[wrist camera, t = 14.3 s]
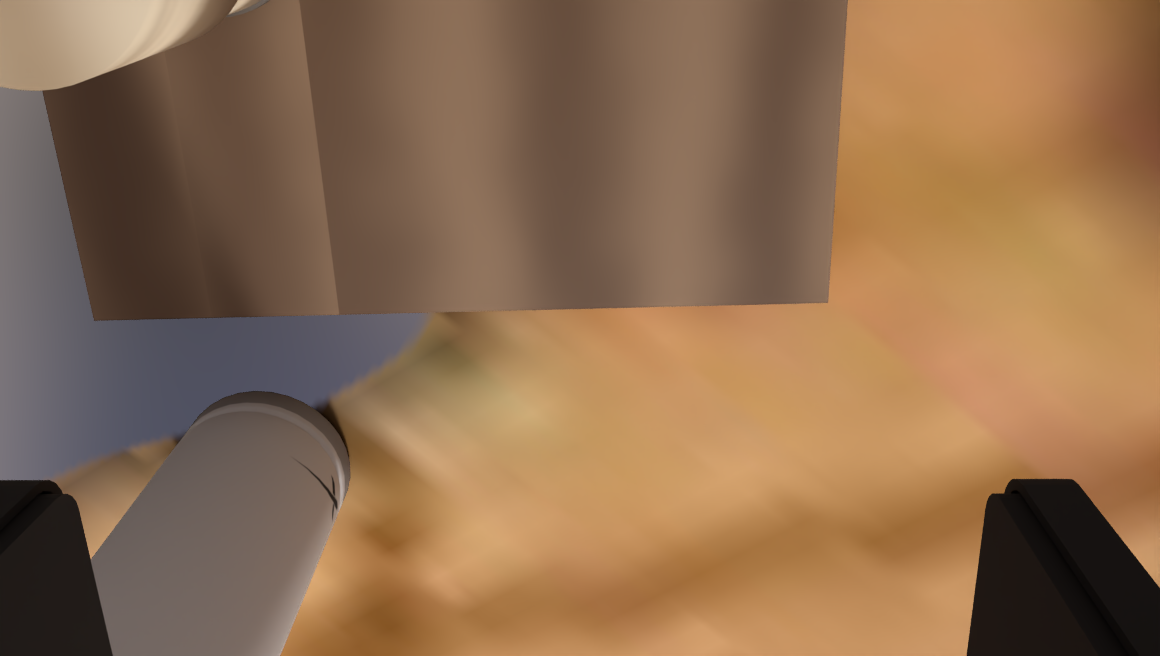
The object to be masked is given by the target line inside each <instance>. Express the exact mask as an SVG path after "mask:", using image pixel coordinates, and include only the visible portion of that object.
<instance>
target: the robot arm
mask: <svg viewBox="0 0 1160 656" xmlns="http://www.w3.org/2000/svg"><path fill="white" fill-rule="evenodd" d="M0 656H113V654H112V649H111V645H110V641H109V637H108V632H107V628H106V624H105V619H104V615H103V611H102V607H101V602H100V598H99V594H98V589H97V585H96V581H95V577H94V572H93V568H92V564H91V559H90V555H89V551H88V547H87V542H86V538H85V534H84V529H83V525H82V521H81V517H80V512H79V508H78V505H77V503H76V501H75V499H74V498H73V497H72V496H70V495H68V494H63V493H62V490H61V489H60V488H59V487H58V485H57V484H56V483H54V482H52V481H50V480H0ZM967 656H1160V588H1159V587H1158V585H1157V584H1156V583H1155V581H1154V580H1153V579H1152V578H1151V576H1150V575H1149V574H1148V572H1147V571H1146V570H1145V569H1144V567H1143V566H1142V565H1141V564H1140V562H1139V561H1138V560H1137V558H1136V557H1135V556H1134V555H1133V553H1132V552H1131V551H1130V550H1129V548H1128V547H1127V546H1126V544H1125V543H1124V542H1123V541H1122V539H1121V538H1120V537H1119V535H1118V534H1117V533H1116V532H1115V530H1114V529H1113V528H1112V527H1111V525H1110V524H1109V523H1108V521H1107V520H1106V519H1105V518H1104V516H1103V515H1102V514H1101V512H1100V511H1099V510H1098V509H1097V507H1096V506H1095V505H1094V504H1093V502H1092V501H1091V500H1090V498H1089V497H1088V496H1087V495H1086V493H1085V492H1084V491H1083V490H1082V488H1081V487H1080V486H1079V484H1077V483H1076V482H1075V481H1074V480H1072V479H1012V480H1011V481H1010V482H1009V483H1008V485H1007V487H1006V489H1005V493H1004V494H991V495H990V496H989V498H988V501H987V504H986V509H985V517H984V525H983V533H982V540H981V548H980V556H979V564H978V572H977V579H976V587H975V595H974V603H973V611H972V618H971V626H970V634H969V642H968V650H967Z"/></svg>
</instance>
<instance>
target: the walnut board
mask: <svg viewBox="0 0 1160 656" xmlns="http://www.w3.org/2000/svg"><path fill="white" fill-rule="evenodd" d="M847 3H848V0H270V1H268V2H267V3H265V4H264V5H262V6H260V7H259V8H257V9H254V10H252V11H249V12H247V13H244V14H240V15H236V16H232V17H225V18H224V19H223V20H222V22H221V23H219V24H218V25H217V26H216V27H214V28H213V29H212V30H211V31H209V32H208V33H206V34H204V35H203V36H201V37H199V38H197V39H195V40H192V41H190V42H187V43H185V44H182V45H179V46H177V47H174V48H171V49H168V50H166V51H163V52H160V53H158V54H155V55H152V56H150V57H147V58H144V59H142V60H139V61H136V62H134V63H131V64H128V65H126V66H123V67H120V68H117V69H115V70H112V71H109V72H107V73H104V74H101V75H99V76H96V77H93V78H91V79H88V80H85V81H83V82H80V83H77V84H75V85H71V86H67V87H63V88H59V89H52V90H42V91H43V95H44V100H45V104H46V109H47V113H48V117H49V122H50V126H51V131H52V135H53V140H54V144H55V149H56V153H57V158H58V162H59V167H60V171H61V176H62V180H63V184H64V189H65V193H66V198H67V202H68V206H69V211H70V215H71V220H72V224H73V229H74V233H75V238H76V242H77V247H78V251H79V255H80V260H81V264H82V268H83V273H84V278H85V282H86V287H87V291H88V295H89V300H90V304H91V308H92V313H93V318H94V321H97V320H139V319H176V318H177V319H180V318H219V317H220V318H221V317H261V316H262V317H263V316H304V315H344V314H345V315H346V314H387V313H428V312H470V311H511V310H552V309H593V308H635V307H676V306H717V305H758V304H800V303H828V296H829V280H830V265H831V250H832V234H833V219H834V203H835V188H836V173H837V157H838V142H839V126H840V111H841V96H842V80H843V65H844V50H845V34H846V19H847Z"/></svg>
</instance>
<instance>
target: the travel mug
mask: <svg viewBox="0 0 1160 656" xmlns="http://www.w3.org/2000/svg"><path fill="white" fill-rule="evenodd" d="M349 481H350V462H349V458H348V454H347V450H346V447H345V445H344V443H343V441H342V439H341V437H340V435H339V434H338V433H337V431H336V430H335V429H334V427H333V426H332V425H331V423H330V422H329V421H328V420H327V419H325V418H324V417H323V416H322V415H321V414H320V413H319V412H318V411H316V410H315V409H313V408H311V407H310V406H308V405H307V404H305V403H304V402H301V401H299V400H296V399H294V398H292V397H289V396H286V395H281V394H278V393H273V392H262V391H251V392H243V393H237V394H234V395H231V396H228V397H225V398H222V399H220V400H219V401H217V402H215V403H213V404H212V405H210V406H209V407H208V408H207V409H206V410H204V411H203V412H202V413H201V414H200V415H199V416H198V417H197V419H196V420H195V421H194V423H193V424H192V425H191V427H190V428H189V429H188V431H187V432H186V434H185V435H184V436H183V437H182V439H181V440H180V441H179V443H178V444H177V445H176V447H175V448H174V449H173V451H172V452H171V453H170V455H169V456H168V457H167V459H166V460H165V461H164V463H163V464H162V465H161V467H160V468H159V469H158V471H157V472H156V473H155V475H154V476H153V477H152V479H151V480H150V481H149V483H148V484H147V485H146V487H145V488H144V489H143V491H142V492H141V493H140V495H139V496H138V497H137V499H136V500H135V501H134V503H133V504H132V505H131V507H130V508H129V509H128V511H127V512H126V513H125V515H124V516H123V517H122V519H121V520H120V521H119V523H118V524H117V525H116V527H115V528H114V529H113V531H112V532H111V533H110V535H109V536H108V537H107V539H106V540H105V541H104V543H103V544H102V545H101V547H100V548H99V549H98V551H97V552H96V553H95V555H94V556H93V557H92V559H91V564H92V568H93V572H94V577H95V581H96V585H97V589H98V594H99V598H100V602H101V607H102V611H103V615H104V619H105V624H106V628H107V632H108V637H109V641H110V645H111V649H112V654H113V656H280V655H281V652H282V650H283V647H284V645H285V643H286V640H287V638H288V635H289V633H290V630H291V628H292V625H293V623H294V620H295V618H296V616H297V613H298V611H299V608H300V606H301V603H302V601H303V598H304V596H305V594H306V591H307V589H308V586H309V584H310V581H311V579H312V576H313V574H314V571H315V569H316V567H317V564H318V562H319V559H320V557H321V554H322V552H323V549H324V547H325V545H326V542H327V540H328V537H329V535H330V532H331V530H332V527H333V525H334V523H335V520H336V518H337V515H338V512H339V510H340V508H341V505H342V503H343V500H344V498H345V496H346V493H347V491H348V486H349Z"/></svg>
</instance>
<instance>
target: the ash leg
mask: <svg viewBox="0 0 1160 656" xmlns="http://www.w3.org/2000/svg"><path fill="white" fill-rule="evenodd" d="M268 1H270V0H0V87H5V88H10V89H16V90H32V91H41V90H52V89H59V88H63V87H67V86H71V85H75V84H77V83H80V82H83V81H85V80H88V79H91V78H93V77H96V76H99V75H101V74H104V73H107V72H109V71H112V70H115V69H117V68H120V67H123V66H126V65H128V64H131V63H134V62H136V61H139V60H142V59H144V58H147V57H150V56H152V55H155V54H158V53H160V52H163V51H166V50H168V49H171V48H174V47H177V46H179V45H182V44H185V43H187V42H190V41H192V40H195V39H197V38H199V37H201V36H203V35H204V34H206V33H208V32H209V31H211V30H212V29H213V28H214V27H216V26H217V25H218V24H219V23H221V22H222V20H223V19H224V18H225V17H232V16H236V15H240V14H244V13H247V12H249V11H252V10H254V9H257V8H259V7H260V6H262V5H264V4H265V3H267V2H268Z"/></svg>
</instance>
